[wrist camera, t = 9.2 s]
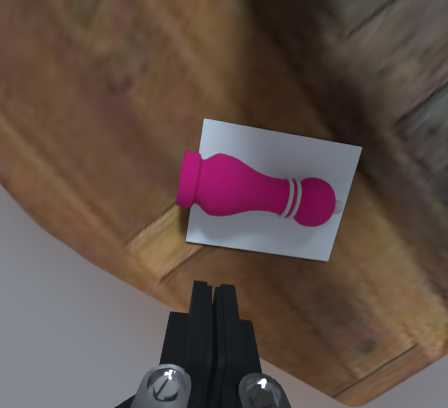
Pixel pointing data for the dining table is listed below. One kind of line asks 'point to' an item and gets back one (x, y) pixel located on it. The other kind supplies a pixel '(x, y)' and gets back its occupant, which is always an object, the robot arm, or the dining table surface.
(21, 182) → the dining table surface
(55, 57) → the dining table surface
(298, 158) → the mat
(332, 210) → the pepper mill
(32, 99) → the dining table surface
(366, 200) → the dining table surface
